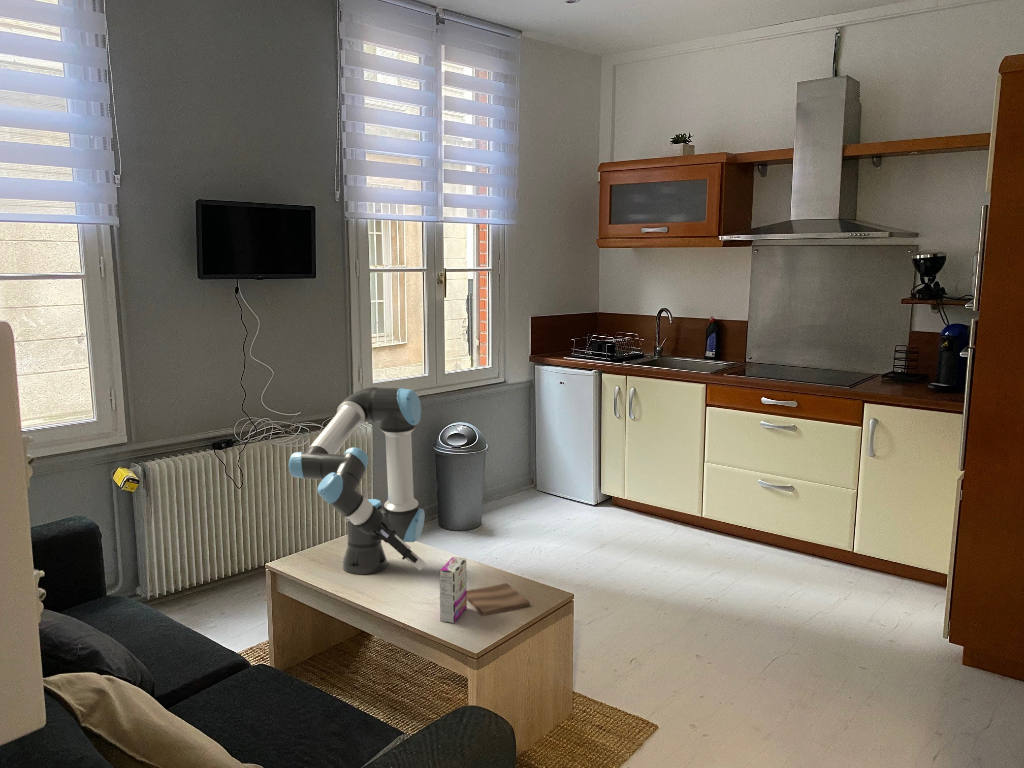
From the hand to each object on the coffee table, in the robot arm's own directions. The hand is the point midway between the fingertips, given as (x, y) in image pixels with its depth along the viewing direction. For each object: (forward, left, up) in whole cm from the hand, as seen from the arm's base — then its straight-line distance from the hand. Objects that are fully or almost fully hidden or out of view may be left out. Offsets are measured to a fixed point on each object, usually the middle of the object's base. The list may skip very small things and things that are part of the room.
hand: (415, 558), depth 230 cm
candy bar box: (0, +12, -20) cm, 24 cm away
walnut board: (-4, +28, -20) cm, 35 cm away
